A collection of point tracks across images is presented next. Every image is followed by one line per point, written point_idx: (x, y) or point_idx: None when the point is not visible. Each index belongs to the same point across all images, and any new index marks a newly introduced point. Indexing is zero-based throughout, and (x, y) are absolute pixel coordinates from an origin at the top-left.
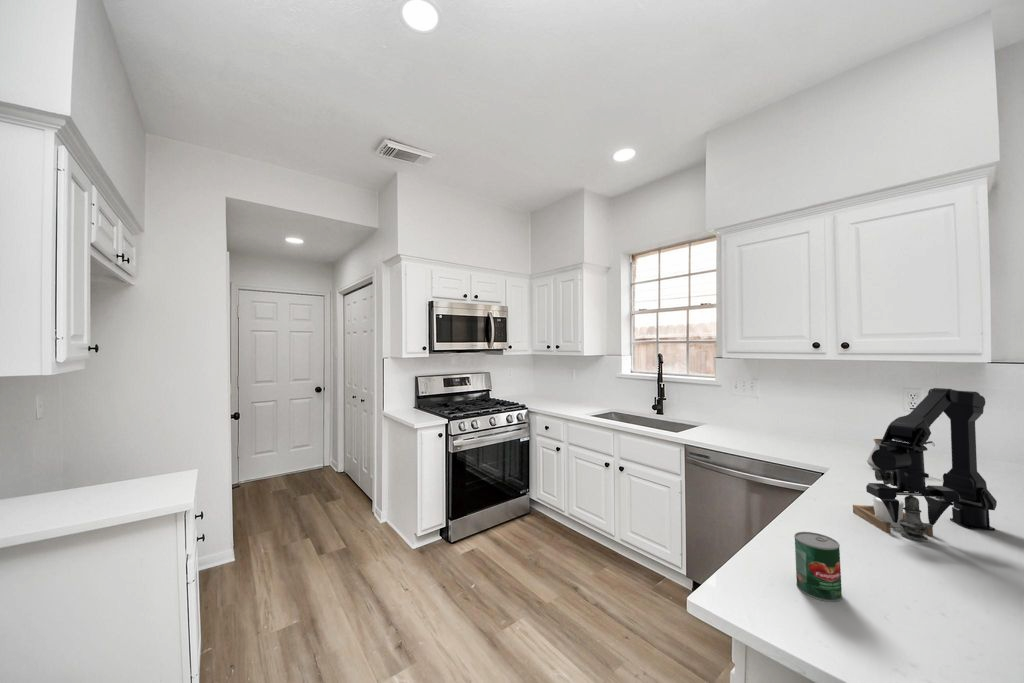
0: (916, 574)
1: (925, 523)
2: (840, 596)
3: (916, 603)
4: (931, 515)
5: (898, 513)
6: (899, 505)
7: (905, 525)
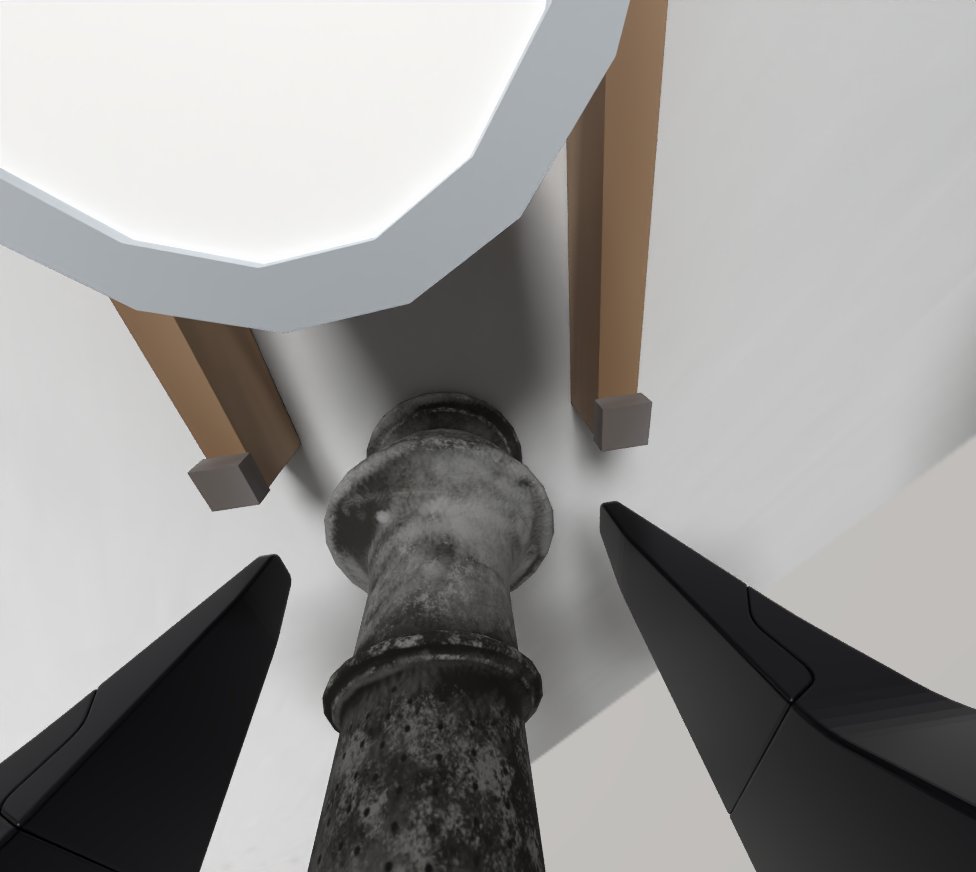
0: (293, 773)
1: (605, 421)
2: None
3: (250, 854)
4: (651, 605)
5: (243, 742)
6: (411, 291)
7: (358, 581)
